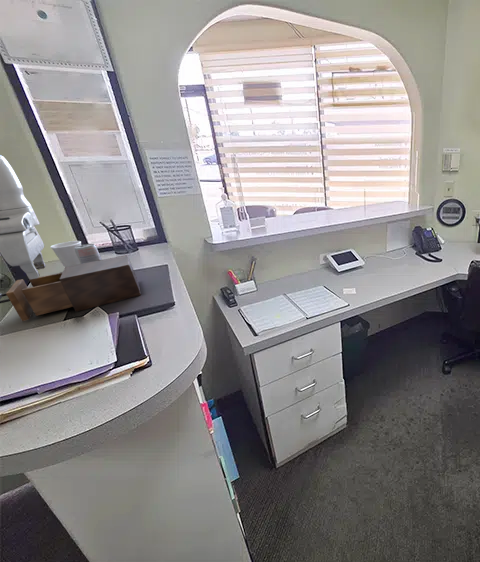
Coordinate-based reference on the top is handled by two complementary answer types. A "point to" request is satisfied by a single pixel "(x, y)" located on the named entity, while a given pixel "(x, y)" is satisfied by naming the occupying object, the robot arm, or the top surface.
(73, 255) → the dixie cup
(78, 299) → the cabinet
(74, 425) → the top surface
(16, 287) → the drawer
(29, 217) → the robot arm
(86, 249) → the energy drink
